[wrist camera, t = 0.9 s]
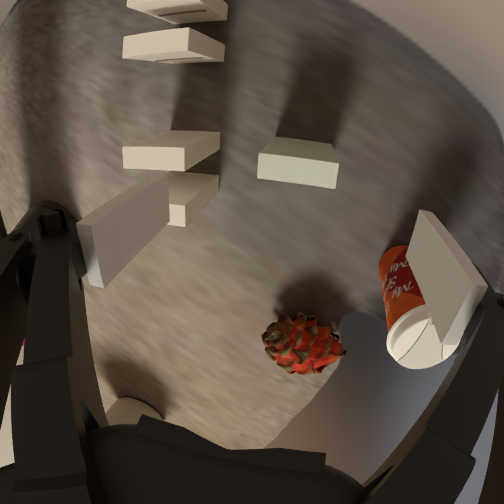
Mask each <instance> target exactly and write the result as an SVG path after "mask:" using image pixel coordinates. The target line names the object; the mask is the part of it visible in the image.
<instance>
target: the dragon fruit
mask: <svg viewBox="0 0 504 504" xmlns="http://www.w3.org/2000/svg"><path fill="white" fill-rule="evenodd" d="M309 318H311V319H310V320H308V321H307V322H306V320H307V319H309ZM316 321H317V317H316V316H314V315H312V316H310V315H308V316H305V315H304V314H303V313H301V312H298V313H297V314H296V317H295V318H291V319H290V318H289V317H287V316H285V315H280V316H279V320H278V321H277V322H276V323H275V322H274V323H272V324H270V325H269V326H268V328H266V330H267V331H266V332H264V333H263V335H262V339H263V343H264V345H265V346H266V348H265V351H266V354H267V355H268V356H269V358H270V359H272V360H273V361H275V360H276V361H277V365H279V366H280V367H281V368H283V369H285V370H286V371H287V372H288V373H289V374H292V373H295V372H297V373H298V374H301V375H307V374H311V373H317V374H318V373H321V372H322V370H323V369H324V368H325V367H327V366H328V365H329V364H331V363H333V362H335V361H337V359H340V358H341V357H343V356H344V355H345V354H346V352H347V351H346V350H345V351H343V346H342V344H341V343H338V342H339V335H337V334H333V330H336V331H337V330H338V329H337V327H336V324H335V322H334V321H331V324H332V325H330V326H324V327H318V326H317V324H316ZM330 335H332V337H331V336H330ZM335 337H336V338H337V339H335Z"/></svg>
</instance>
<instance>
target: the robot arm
mask: <svg viewBox="0 0 504 504" xmlns="http://www.w3.org/2000/svg"><path fill="white" fill-rule="evenodd" d="M169 222H170V212H169V188H168V174H161V173H155V174H153V175H151V176H150V177H148V178H146V179H145V180H143V181H141V182H140V183H138V184H136V185H135V186H133V187H131V188H130V189H128V190H126V191H125V192H123V193H121V194H120V195H118V196H117V197H115V198H113V199H112V200H110V201H109V202H107V203H106V204H104V205H103V206H101V207H100V208H98V209H96V210H95V211H93V212H92V213H90V214H89V215H88V216H86V217H85V218H83V219H82V220H80V221H79V222H77V221H76V220H75V219H74V217H73V216H72V215H71V214H70V213H69V212H68V211H67V210H66V209H65V208H64V207H62V206H61V205H59V204H57V203H55V202H52V201H42V202H40V203H38V204H36V205H35V206H33V207H31V208H30V209H29V210H28V211H27V212H26V214H25V215H24V216H23V217H22V219H21V220H20V221H19V223H18V224H17V225H16V227H15V228H14V230H13V231H12V232H11V233H10V234H8V235H7V231H6V228H5V225H4V222H3V218H2V215H1V211H0V429H1V424H2V420H3V415H4V410H5V405H6V401H7V397H8V393H9V389H10V385H11V422H12V440H13V451H14V460H15V463H12V464H10V465H7V466H4V467H1V468H0V504H454V502H455V501H456V499H457V497H458V496H459V494H460V492H461V491H462V489H463V487H464V485H465V484H466V482H467V480H468V478H469V476H470V474H471V472H472V470H473V468H474V465H475V463H476V462H475V458H474V457H472V456H471V453H472V450H473V448H474V446H475V444H476V442H477V440H478V437H479V436H480V433H481V431H482V429H483V427H484V424H485V422H486V419H487V417H488V414H489V412H490V410H491V407H492V404H493V402H494V399H495V396H496V393H497V391H498V388H499V391H498V404H497V414H496V422H495V429H494V436H493V442H492V448H491V453H490V458H489V463H488V468H487V472H486V476H485V480H484V484H483V488H482V492H481V495H480V498H479V502H478V504H504V294H501V293H495V292H494V290H493V288H492V287H491V285H490V284H489V283H488V281H487V280H485V279H486V278H485V277H484V275H483V274H482V272H481V271H480V270H479V268H478V267H477V266H476V265H475V264H474V263H473V262H472V261H470V259H469V258H468V257H467V255H466V254H465V253H464V251H463V250H462V249H461V247H460V246H459V245H458V243H457V242H456V241H455V239H454V238H453V237H452V236H451V234H450V233H449V232H448V231H447V229H446V228H445V227H444V226H443V225H442V223H441V222H440V221H439V220H438V219H437V217H436V216H435V215H434V214H433V213H432V212H429V211H425V210H419V213H418V217H417V220H416V224H415V227H414V231H413V234H412V238H411V241H410V244H409V247H408V250H407V253H406V259H407V261H408V263H409V265H410V267H411V270H412V272H413V274H414V276H415V279H416V281H417V283H418V286H419V288H420V291H421V293H422V295H423V298H424V300H425V303H426V305H427V308H428V310H429V313H430V316H431V318H432V321H433V324H434V326H435V329H436V332H437V335H438V338H439V340H440V343H441V344H444V345H457V343H458V342H459V340H460V338H461V337H462V335H463V333H464V335H465V337H466V340H467V341H466V342H465V344H464V346H463V347H462V349H461V350H460V352H459V353H458V355H457V357H456V358H455V360H454V361H453V362H454V364H453V365H452V367H451V369H450V371H449V372H448V374H447V376H446V377H445V379H444V381H443V382H442V384H441V386H440V387H439V389H438V391H437V392H436V394H435V395H434V397H433V398H432V400H431V401H430V403H429V404H428V406H427V407H426V409H425V410H424V411H423V413H422V414H421V416H420V417H419V419H418V420H417V422H416V423H415V424H414V426H413V427H412V428H411V430H410V431H409V432H408V434H407V435H406V436H405V437H404V439H403V440H402V441H401V443H400V444H399V445H398V446H397V447H396V449H395V450H394V451H393V452H392V454H391V455H390V456H389V457H388V458H387V459H386V461H385V462H384V463H383V464H382V465H381V466H380V468H379V469H378V470H377V471H376V472H375V473H374V474H373V475H372V476H371V477H370V478H369V479H368V480H367V481H366V482H365V483H363V485H361V484H360V483H359V482H358V481H356V480H355V479H353V478H352V477H351V476H349V475H348V474H346V473H344V472H342V471H341V470H338V469H336V468H334V467H331V466H328V465H325V458H326V453H320V452H309V451H299V450H292V449H284V448H272V449H248V450H229V449H225V448H223V447H221V446H219V445H217V444H215V443H213V442H211V441H209V440H207V439H205V438H203V437H201V436H199V435H197V434H195V433H193V432H191V431H190V430H188V429H186V428H184V427H181V426H178V425H175V424H171V423H168V422H165V421H162V420H159V419H156V418H153V417H150V416H147V415H144V414H142V415H141V417H140V419H139V421H138V423H137V424H116V425H110V426H109V423H108V421H107V418H106V415H105V411H104V407H103V403H102V399H101V395H100V391H99V386H98V382H97V377H96V372H95V367H94V361H93V356H92V350H91V344H90V338H89V331H88V323H87V315H86V307H85V297H84V286H83V282H82V277H83V276H84V275H85V274H86V273H87V275H88V279H89V283H90V285H93V286H96V287H100V288H105V287H106V286H107V285H108V284H109V283H110V282H111V281H112V280H113V279H114V277H115V276H116V275H117V274H118V273H119V272H120V271H121V270H122V269H123V268H124V267H125V266H126V265H127V264H128V263H129V262H130V261H131V260H132V259H133V258H134V257H135V256H136V254H137V253H138V252H139V251H140V250H141V249H142V248H143V247H144V246H145V245H146V244H147V243H148V242H149V241H150V240H151V239H152V238H153V237H154V236H155V235H156V234H157V233H158V232H159V231H160V230H161V229H163V228H164V227H165V226H166V225H167V224H168V223H169ZM24 338H25V341H24ZM23 341H24V360H23V364H22V365H17V366H16V363H17V360H18V357H19V353H20V350H21V347H22V344H23Z"/></svg>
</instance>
